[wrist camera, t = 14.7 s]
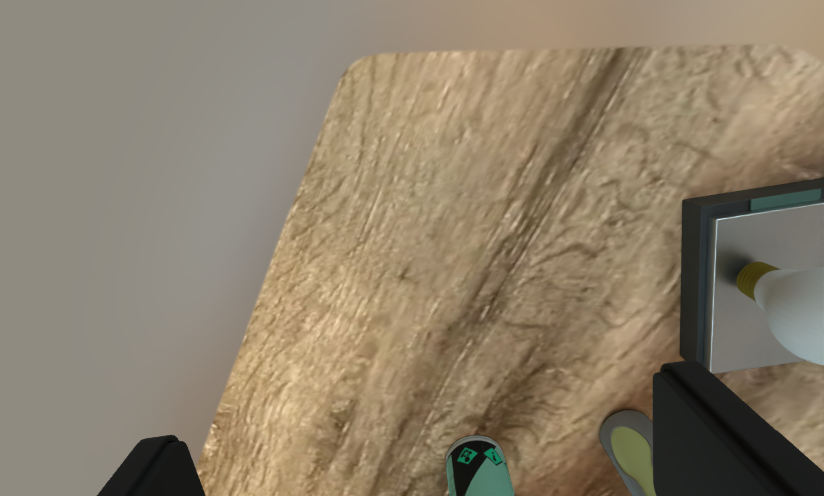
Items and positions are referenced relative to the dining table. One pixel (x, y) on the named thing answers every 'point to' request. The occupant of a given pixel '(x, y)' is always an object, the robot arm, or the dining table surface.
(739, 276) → the light bulb
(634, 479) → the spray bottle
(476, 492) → the spray can
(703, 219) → the scale
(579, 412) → the dining table surface
